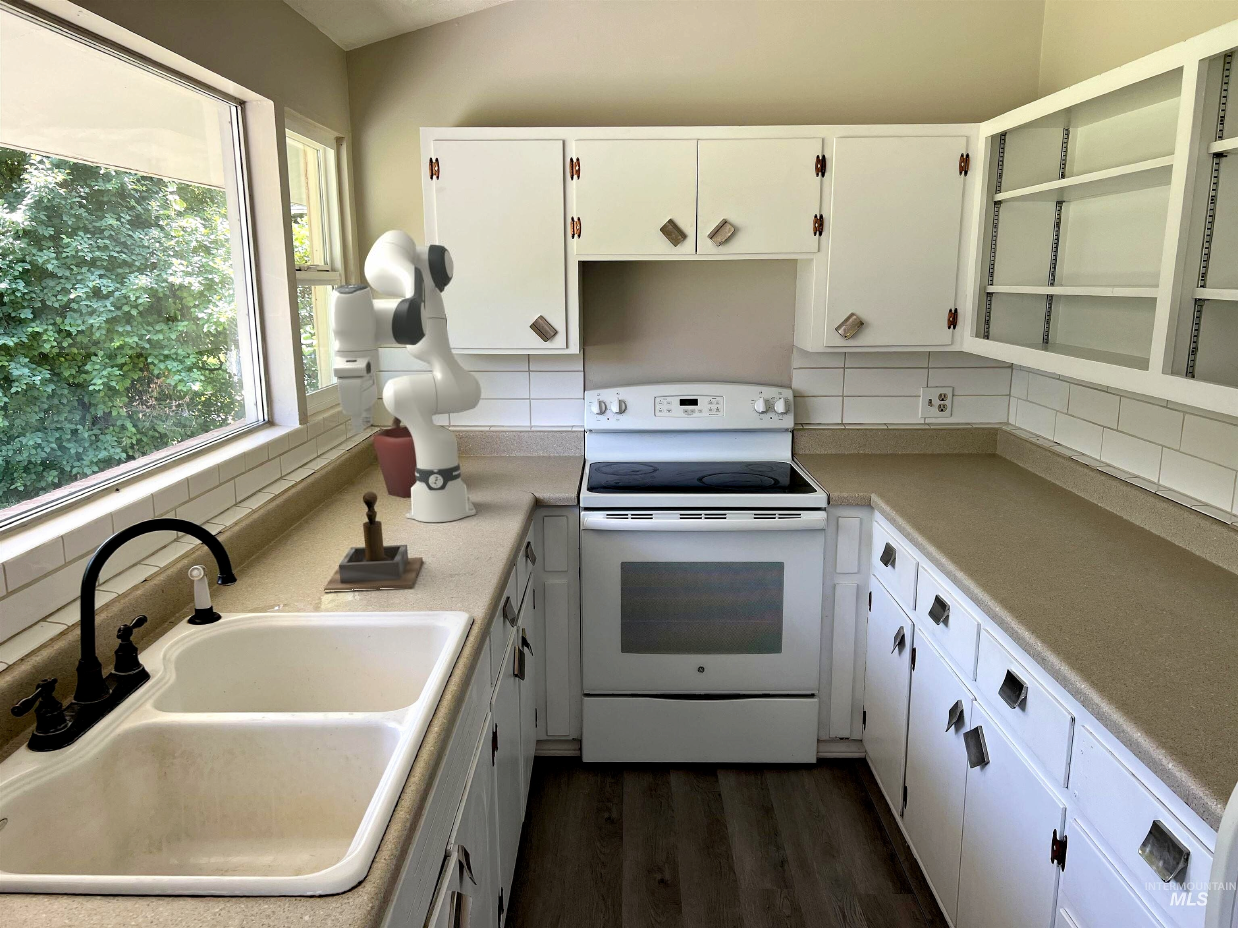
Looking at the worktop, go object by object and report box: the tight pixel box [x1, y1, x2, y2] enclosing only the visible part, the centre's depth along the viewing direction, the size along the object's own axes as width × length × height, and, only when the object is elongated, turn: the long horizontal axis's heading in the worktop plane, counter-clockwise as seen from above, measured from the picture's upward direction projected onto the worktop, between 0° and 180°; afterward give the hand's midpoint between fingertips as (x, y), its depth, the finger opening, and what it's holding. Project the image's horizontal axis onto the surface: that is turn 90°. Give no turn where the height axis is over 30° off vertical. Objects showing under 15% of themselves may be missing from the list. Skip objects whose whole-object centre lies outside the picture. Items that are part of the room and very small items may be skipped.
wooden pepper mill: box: [362, 491, 391, 562], centre depth 191 cm, size 7×6×18 cm
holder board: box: [323, 544, 424, 592], centre depth 192 cm, size 18×18×5 cm
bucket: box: [372, 415, 450, 499], centre depth 266 cm, size 24×22×25 cm
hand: (363, 429), depth 186 cm, fingers open, 8 cm apart
